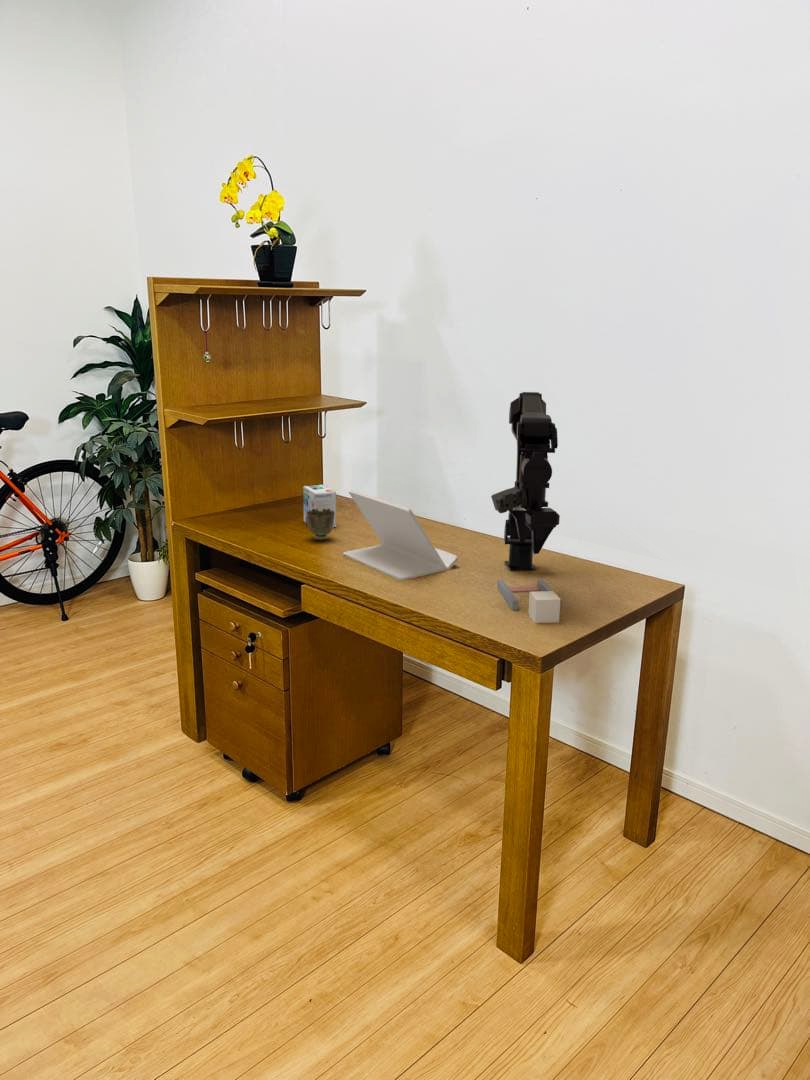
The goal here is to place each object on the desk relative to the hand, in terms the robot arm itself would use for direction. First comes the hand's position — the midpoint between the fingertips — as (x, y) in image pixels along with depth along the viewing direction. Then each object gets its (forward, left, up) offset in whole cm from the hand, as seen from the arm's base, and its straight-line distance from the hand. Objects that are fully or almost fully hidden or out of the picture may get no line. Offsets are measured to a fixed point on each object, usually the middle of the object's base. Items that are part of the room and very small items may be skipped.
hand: (528, 547), depth 178 cm
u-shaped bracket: (+1, 0, -11) cm, 11 cm away
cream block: (+13, 0, -11) cm, 17 cm away
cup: (-49, -44, -11) cm, 67 cm away
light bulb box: (-65, -44, -11) cm, 79 cm away
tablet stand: (-28, -25, -12) cm, 39 cm away
